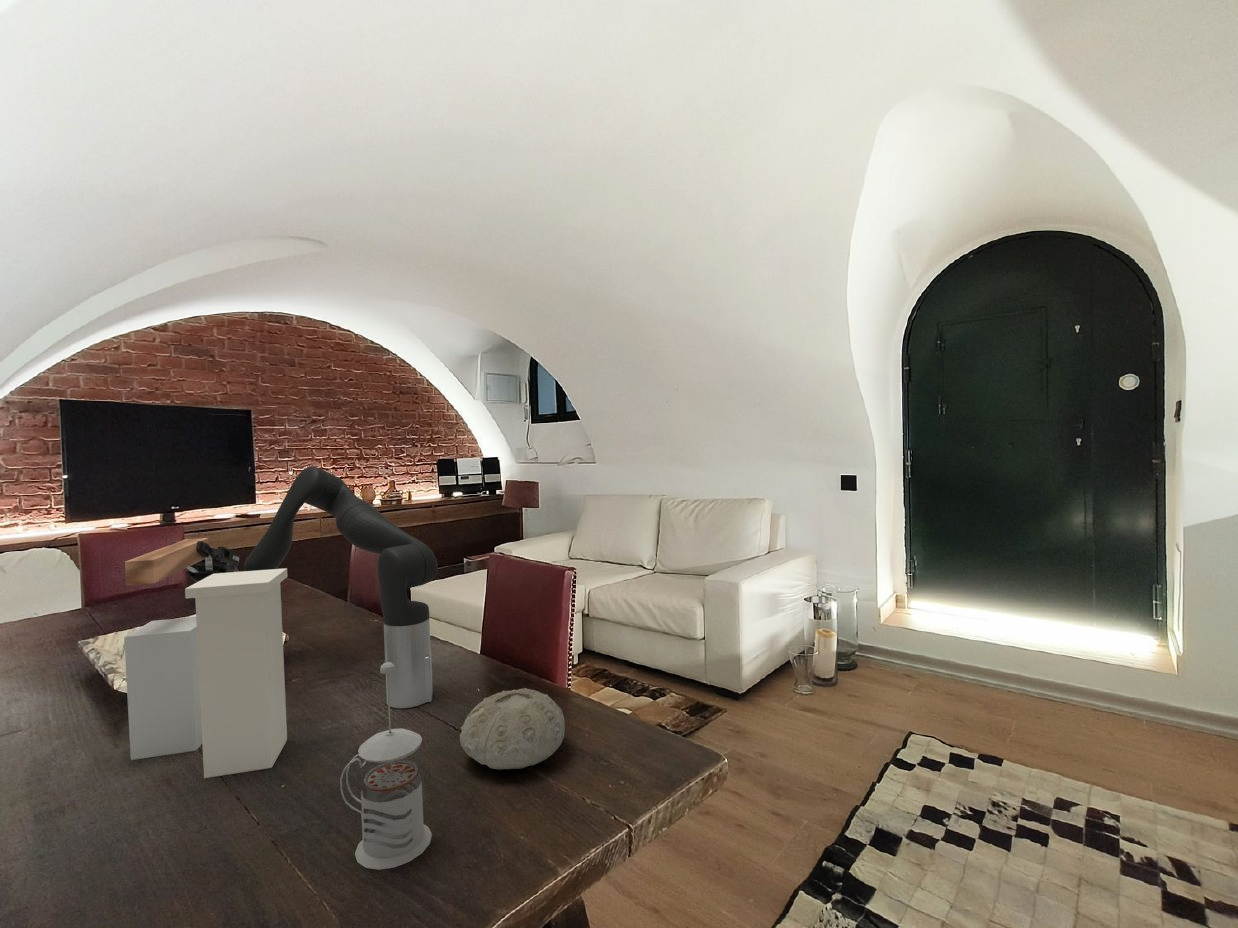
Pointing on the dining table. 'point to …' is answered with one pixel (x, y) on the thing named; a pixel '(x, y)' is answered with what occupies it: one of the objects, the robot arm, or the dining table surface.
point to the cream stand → (240, 670)
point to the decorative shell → (513, 729)
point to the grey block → (163, 688)
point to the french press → (398, 828)
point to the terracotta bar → (163, 562)
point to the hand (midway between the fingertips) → (185, 546)
